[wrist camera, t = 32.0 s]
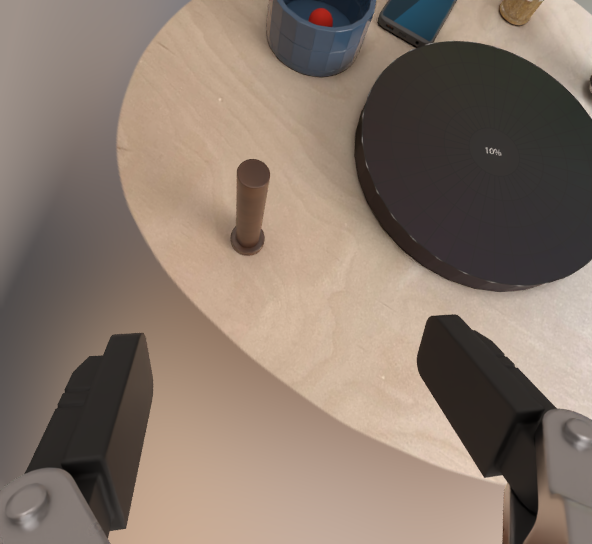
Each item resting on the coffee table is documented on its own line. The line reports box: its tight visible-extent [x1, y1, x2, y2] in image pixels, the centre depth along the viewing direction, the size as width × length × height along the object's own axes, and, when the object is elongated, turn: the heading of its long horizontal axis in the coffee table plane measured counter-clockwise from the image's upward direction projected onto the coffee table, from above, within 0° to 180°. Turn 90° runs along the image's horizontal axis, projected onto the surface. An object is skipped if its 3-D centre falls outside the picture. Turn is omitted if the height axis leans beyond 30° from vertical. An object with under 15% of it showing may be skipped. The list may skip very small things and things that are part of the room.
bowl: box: [267, 0, 376, 77], centre depth 42 cm, size 11×11×6 cm
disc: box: [355, 41, 592, 292], centre depth 42 cm, size 30×30×3 cm
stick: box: [231, 159, 270, 255], centre depth 31 cm, size 3×3×12 cm
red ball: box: [308, 8, 333, 27], centre depth 43 cm, size 3×3×3 cm
